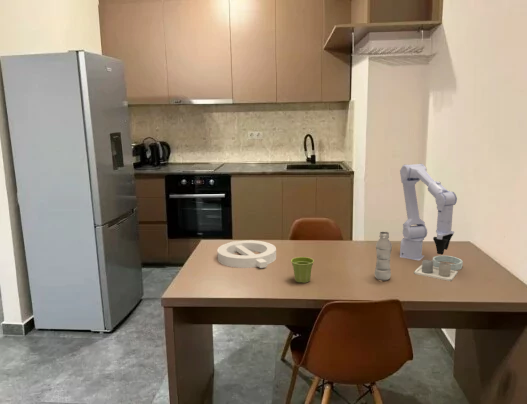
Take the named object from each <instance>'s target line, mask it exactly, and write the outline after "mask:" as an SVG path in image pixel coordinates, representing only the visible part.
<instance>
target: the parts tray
mask: <svg viewBox="0 0 527 404" xmlns="http://www.w3.org/2000/svg"><path fill="white" fill-rule="evenodd" d="M458 273H459V270H455V271H454V270H450V276H449V277H442V276H440V275H439V268H438V267H434V266H433V273H430V274H427V273H423V272H422V264H421V265H419V266H418V267H417V268H416V269H415V270H414V271H413V274H414V275H417V276H422V277H429V278H432V279H438V280H442V281H447V282H452V281H453V280H454V279H455V277H456V276H457V275H458Z"/></svg>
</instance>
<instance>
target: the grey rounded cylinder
mask: <svg viewBox="0 0 527 404" xmlns="http://www.w3.org/2000/svg"><path fill="white" fill-rule="evenodd" d="M450 264H451V263H449V262H441V263H440V264H439V275H440V276H442V277H449V276H450V270H451V265H450Z"/></svg>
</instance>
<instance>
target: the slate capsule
mask: <svg viewBox="0 0 527 404" xmlns="http://www.w3.org/2000/svg"><path fill="white" fill-rule="evenodd" d="M421 265H422V272H423V273H427V274H430V273H433V267H434V266H433V261H432V260H430V259H423V260H422V261H421Z"/></svg>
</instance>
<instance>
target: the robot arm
mask: <svg viewBox="0 0 527 404" xmlns="http://www.w3.org/2000/svg"><path fill="white" fill-rule="evenodd" d="M399 172H400V173H399V174H400V181H401V183H402V187H403V195H404V202H405V203H404V205H405V210H406V211H405V212H406V216H407V217H406V218H407V220H405V221H404V223H403V224H402V235H403V237H402V239H401V241H400V250H399V258H403V259H409V260H413V261H414V260H415V261H421V260H422V259H423V258H424V257H425V255H422V254H423V241H424V240H425V238H426V237H427V236H428V228H427V227H426V223H425V221H424V220H423V219H421V217H420V213H419V205H418V199H417V191H416V185H417V183H419V182H420V181H421V182H422V183H423V184H425V185H426V187H427V191H428V192H429V194H431V195H432V196H433V198H434V199H435V200H434V201H435V204H436V210H437V219H436V220H437V221H436V230H435V234H436V236H433V238H432V239H433V242H434V244H435V249H436V253H437V255H443V254H444V252H445V250H448V249H449V245H450V242H451V240H452V237H453V236H454V234H455V231H453V230H452V225H453V213H454V211H453V210H454V206H456V203H457V200H458V196H457V195H456V193H455V192H454V191H450V190H448V189H447V188H446V187H445V186H443V185H442V183H441V182H440V181H438V180H434V178H433V177H432V176H431V174H429V173H428V169H427V167H426V166H425V164H423V163H414V164H413V163H412V164H403V165H402V166H401V168H400V170H399ZM443 256H444V255H443Z"/></svg>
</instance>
